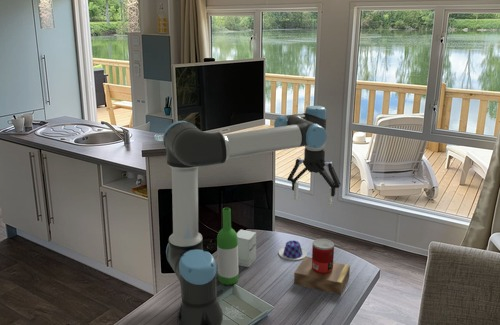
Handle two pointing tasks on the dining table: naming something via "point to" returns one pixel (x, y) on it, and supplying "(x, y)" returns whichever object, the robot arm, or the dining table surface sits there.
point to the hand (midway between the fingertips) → (312, 201)
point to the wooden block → (322, 277)
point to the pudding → (292, 251)
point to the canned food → (322, 256)
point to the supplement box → (246, 247)
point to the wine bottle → (227, 251)
